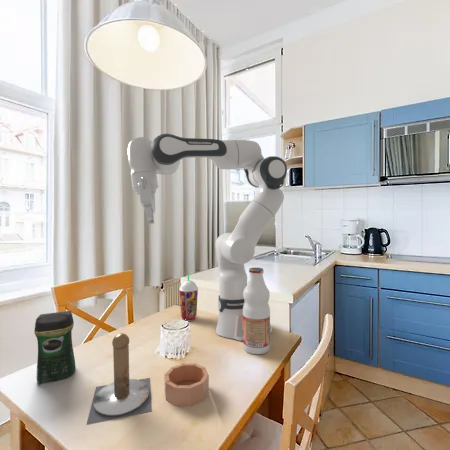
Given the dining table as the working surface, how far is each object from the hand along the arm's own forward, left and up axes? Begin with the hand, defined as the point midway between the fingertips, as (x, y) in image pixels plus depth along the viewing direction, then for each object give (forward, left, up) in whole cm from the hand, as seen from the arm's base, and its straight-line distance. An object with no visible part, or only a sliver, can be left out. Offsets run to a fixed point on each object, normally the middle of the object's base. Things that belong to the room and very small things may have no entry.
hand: (150, 221), depth 97 cm
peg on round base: (+9, +27, -44) cm, 52 cm away
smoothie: (-16, -22, -44) cm, 52 cm away
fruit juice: (-34, +12, -44) cm, 58 cm away
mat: (+9, +27, -44) cm, 53 cm away
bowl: (-7, +29, -44) cm, 54 cm away
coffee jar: (+28, +10, -44) cm, 53 cm away
